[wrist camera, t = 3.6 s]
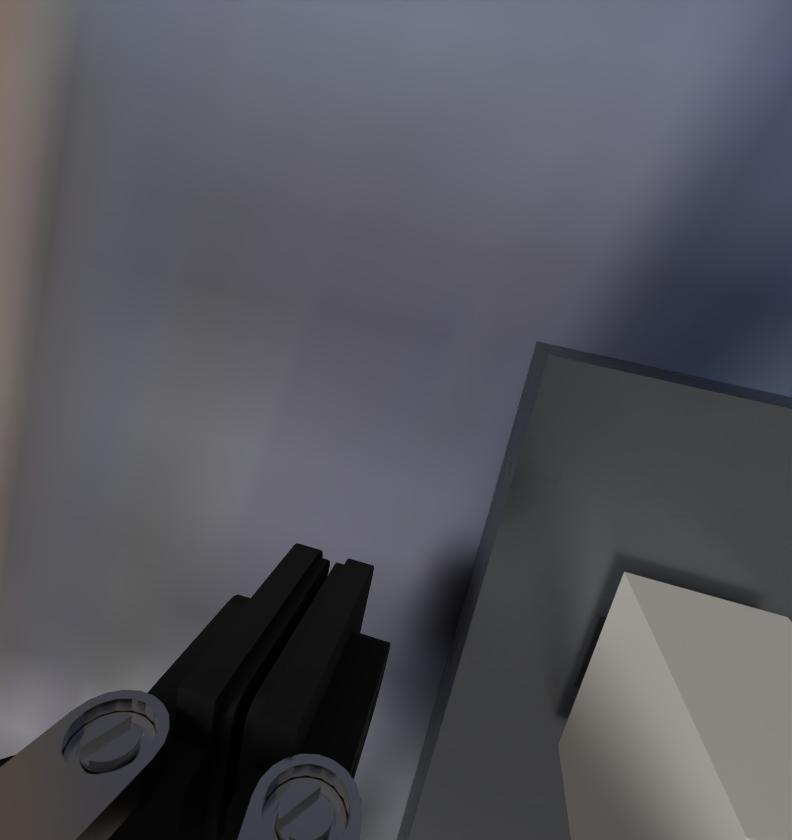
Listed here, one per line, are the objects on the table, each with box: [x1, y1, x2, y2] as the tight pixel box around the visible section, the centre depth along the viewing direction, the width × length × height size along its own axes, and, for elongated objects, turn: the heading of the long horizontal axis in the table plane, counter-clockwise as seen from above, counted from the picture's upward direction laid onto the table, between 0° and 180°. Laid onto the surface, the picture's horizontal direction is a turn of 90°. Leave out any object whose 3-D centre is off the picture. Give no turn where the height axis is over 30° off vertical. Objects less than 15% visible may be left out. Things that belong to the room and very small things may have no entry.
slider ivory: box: [558, 572, 792, 840], centre depth 8 cm, size 3×4×5 cm, turn 168°
